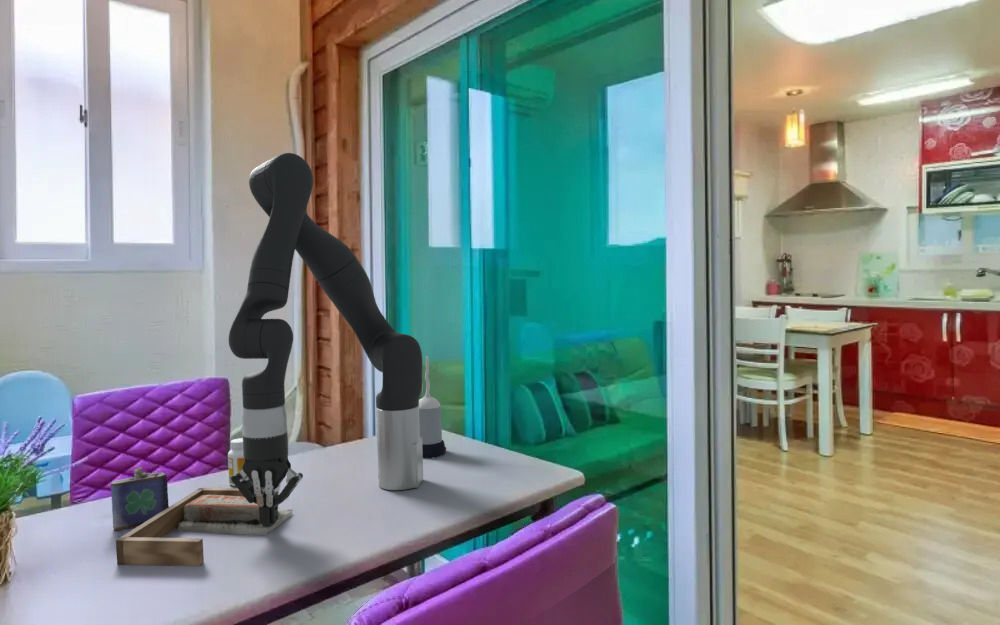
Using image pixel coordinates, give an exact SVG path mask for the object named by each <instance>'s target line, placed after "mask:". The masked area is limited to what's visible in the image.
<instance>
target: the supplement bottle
mask: <svg viewBox="0 0 1000 625" xmlns="http://www.w3.org/2000/svg"><path fill="white" fill-rule="evenodd" d="M230 448H231V449H230V450H229V451H228V453H227V464H228V465H227V468H228V483H229V485H230V486H232V487H236V486H235V484H234V483H233V482H232V481H231V477H232V476H234V475H235V474H236V473H238V472H240V471H241V470H242V466H243V464H244V461H245V458H244V456H243V437H241V438H240V437H239V438H234V439H232V440H230ZM249 480H250V479H249ZM251 483H252V482H251ZM252 484H253V483H252Z"/></svg>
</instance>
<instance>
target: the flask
mask: <svg viewBox="0 0 1000 625" xmlns="http://www.w3.org/2000/svg"><path fill="white" fill-rule="evenodd" d="M142 469H143V467H142V466H138V467H136V468H134V470H133V473H134V474H133V475H134V476H133V477H128V478H127V477H126V478H123V479H117V480H113V481H112V482H110V492H111V493H110V494H111V509H112V510H111V512H112V528H113V530H114V531H119V530H120V531H124V530H128V529H131V528H133V529H135V528H136V527H138V526H139V525H141V524H143V523H144V522H146V521H147V520H149V519H151V518H152V517H154V516H156V515H157V514H159V513H160V512H162V511H164V510H165V509H167V508H168V507H170V506H169V493H168V490H169V489H168V487H169V486H168V476H167V475H166V473H164V472H157V471H153V472H152V473H151V472H145V471H143V470H142Z"/></svg>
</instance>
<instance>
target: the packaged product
mask: <svg viewBox="0 0 1000 625" xmlns="http://www.w3.org/2000/svg"><path fill="white" fill-rule="evenodd" d="M279 505H280V504H278V506H279ZM184 513H185V515H184V521H183V522H181V523H180V522H179V525H178V528H177V530H178V531H187V532H188V531H192V532H204V533H219V534H221V533H222V534H235V535H237V534H238V535H257V536H258V535H260V536H261V535H263V536H266V535H267V534H269V533H270V532H272V531H273V530H274V529H276V528H277V527H278V526H280V525H281V524H282V523H283V522H284V521H286V520H287V519H288V518H289V517H291V516H292V515H293V509H284V508H278V520H277V521H276V522H275V524H274V525H273V526H272V527H263V526H262V523H260V517H259V506H258V505H257V504H256V503H249V502H248V501H247V500H246V498H245V497H240V496H224V495H202V496H200V497H198V498H197V499H195V500H193V501H191V502H190V503H188V504H187V505H186V506H184Z"/></svg>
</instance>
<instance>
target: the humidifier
mask: <svg viewBox="0 0 1000 625" xmlns="http://www.w3.org/2000/svg"><path fill="white" fill-rule="evenodd" d="M429 358H430V356H429V355H428V356H427V355H426V356H425V374H423V371H422V377H423V376H424V380H425V384H426V386H425V387H426V388H425V394H424V389H423V386H424V385H423V384H422V391H421V393H422V395H423V396H422V398H419V428H420V437H421V438H422V451H423V459H433V458H432V457H435V458H439V457H442V456H444V455H445V454H446V451H447V447H446V444H445V441H444V440H443V439H442V438H443V433H442V429H443V428H442V427H443V426H442V407H441V405H442V404H441V403H440V402H439V401H438V399H436V398H435V397H432V396H431V393H430V390H431V384H430V383H431V382H430V379H429V375H430V359H429ZM443 454H444V455H443ZM441 455H442V456H441ZM438 456H439V457H438Z"/></svg>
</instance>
